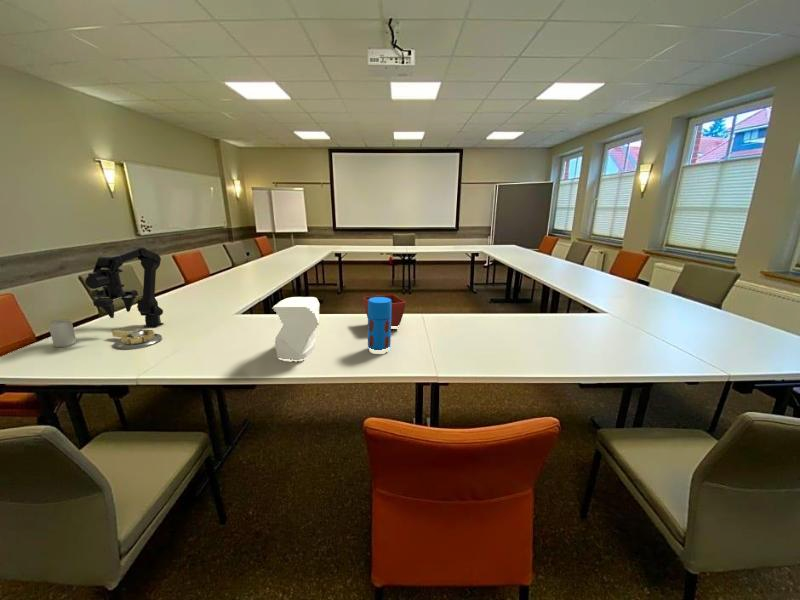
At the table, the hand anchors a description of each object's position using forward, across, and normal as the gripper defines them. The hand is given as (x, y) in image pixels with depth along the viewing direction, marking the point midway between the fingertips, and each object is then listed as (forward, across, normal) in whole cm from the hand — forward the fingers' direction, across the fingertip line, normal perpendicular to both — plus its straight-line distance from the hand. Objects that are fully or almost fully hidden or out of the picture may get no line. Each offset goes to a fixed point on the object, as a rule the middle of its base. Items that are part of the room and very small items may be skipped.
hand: (120, 314), depth 159 cm
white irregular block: (+12, +9, +91) cm, 92 cm away
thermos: (+12, +2, +125) cm, 126 cm away
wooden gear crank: (+11, +3, +6) cm, 12 cm away
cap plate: (+12, +4, +10) cm, 16 cm away
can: (+12, +11, -20) cm, 25 cm away
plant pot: (+14, -30, +125) cm, 129 cm away
